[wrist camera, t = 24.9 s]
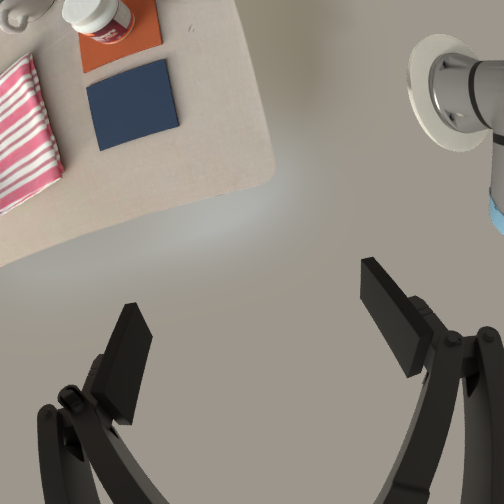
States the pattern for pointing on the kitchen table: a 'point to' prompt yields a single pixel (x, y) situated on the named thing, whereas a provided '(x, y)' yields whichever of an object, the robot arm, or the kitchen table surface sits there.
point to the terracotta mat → (137, 40)
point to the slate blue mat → (132, 105)
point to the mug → (21, 13)
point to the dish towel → (24, 137)
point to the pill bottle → (99, 19)
